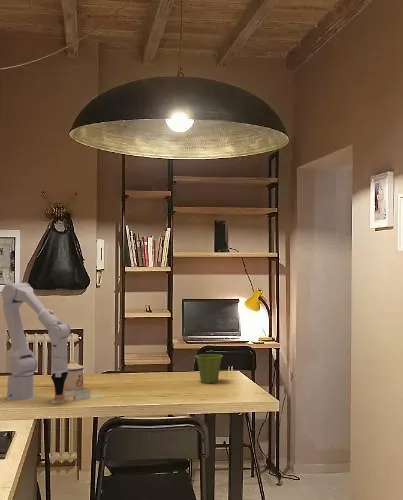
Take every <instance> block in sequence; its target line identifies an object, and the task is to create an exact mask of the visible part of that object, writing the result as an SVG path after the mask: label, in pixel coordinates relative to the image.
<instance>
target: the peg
mask: <svg viewBox="0 0 403 500" xmlns="http://www.w3.org/2000/svg"><path fill="white" fill-rule="evenodd" d="M65 392H66V391H65V382H64V387H63V393H62V395H56V392H55V391H54V400H65Z"/></svg>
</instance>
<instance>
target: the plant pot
mask: <svg viewBox="0 0 403 500" xmlns="http://www.w3.org/2000/svg"><path fill="white" fill-rule="evenodd" d="M223 357H224V355H222V354H213V353H212V354H211V353H208V354H205V353H204V354H197V355H195V359H196V363H197V367H198V370H199V373H198V374H199V379H200V382H201V383H202V384H211V383H213V384H216V383H218V382H219V377H220V376H219V375H220V368H221V363H222V358H223Z"/></svg>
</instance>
